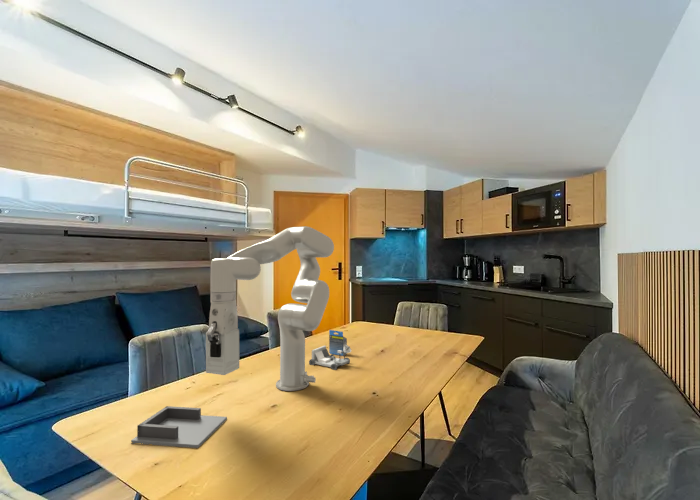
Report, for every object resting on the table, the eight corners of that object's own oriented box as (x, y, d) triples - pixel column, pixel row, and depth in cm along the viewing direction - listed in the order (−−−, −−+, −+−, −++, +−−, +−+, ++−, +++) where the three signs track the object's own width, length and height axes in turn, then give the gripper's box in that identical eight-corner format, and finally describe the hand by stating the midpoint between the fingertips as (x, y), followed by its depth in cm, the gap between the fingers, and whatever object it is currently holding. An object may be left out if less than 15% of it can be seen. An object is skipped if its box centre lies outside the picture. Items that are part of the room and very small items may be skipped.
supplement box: (240, 368, 111) (240, 328, 111) (224, 376, 104) (224, 333, 104) (221, 365, 113) (221, 327, 114) (204, 373, 106) (204, 332, 107)
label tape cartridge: (347, 354, 177) (347, 330, 177) (343, 356, 174) (343, 331, 174) (333, 351, 182) (333, 328, 182) (328, 353, 179) (328, 329, 179)
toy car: (354, 344, 161) (341, 349, 151) (354, 365, 161) (341, 372, 151) (323, 339, 171) (308, 344, 161) (323, 359, 170) (308, 365, 161)
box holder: (226, 419, 106) (227, 407, 106) (197, 448, 90) (198, 433, 90) (169, 415, 108) (169, 403, 108) (131, 443, 92) (131, 428, 93)
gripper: (219, 301, 100) (219, 362, 100) (246, 294, 117) (246, 346, 117) (196, 300, 101) (195, 360, 101) (226, 294, 118) (225, 345, 118)
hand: (222, 352), depth 109 cm, fingers closed on supplement box, 8 cm apart
